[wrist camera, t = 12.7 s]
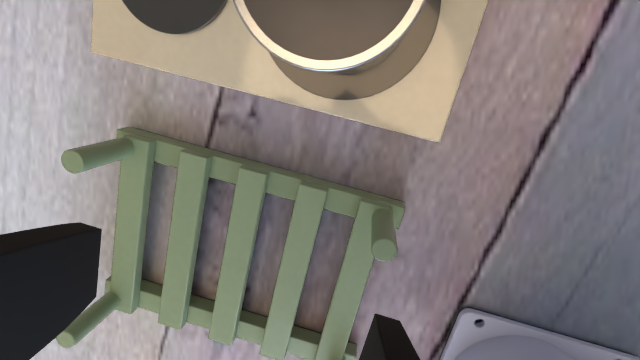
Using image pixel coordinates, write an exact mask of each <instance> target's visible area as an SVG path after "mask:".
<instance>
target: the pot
mask: <svg viewBox="0 0 640 360" xmlns="http://www.w3.org/2000/svg"><path fill="white" fill-rule="evenodd" d="M426 1H427V0H233V2H234V5H235V7H236V10H237V12H238V14H239V16H240V18H241V20H242V22H243V23H244V25H245V26H246V28H247V29H248V31H249V32H250V33H251V35H252V36H253V37H254V38H255V39H256V40H257V41H258V43H259V44H260V45H261V46H263V47H264V48H265V49H266V50H267V51H268V52H269V53H271V54H272V55H274V56H275V57H277V58H278V59H280V60H282V61H284V62H286V63H288V64H290V65H292V66H295V67H298V68H302V69H305V70H311V71H316V72H323V73H330V74H337V75H349V74H356V73H360V72H363V71H366V70H369V69H371V68H373V67H375V66H377V65H378V64H380V63H381V62H382V61H384V60H385V59H386V58H387V57H388V56H389V55H391V54H392V52H393V51H394V50H395V49H396V48H397V47H398V45H399V44H400V42H401V41H402V39H403V38H404V37H405V35H406V34H407V32H408V31H409V30H410V28H411V27H412V25H413V24H414V22H415V21H416V19H417V18H418V16H419V15H420V13H421V11H422V9H423V7H424V5H425V3H426Z"/></svg>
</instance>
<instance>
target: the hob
mask: <svg viewBox="0 0 640 360" xmlns="http://www.w3.org/2000/svg"><path fill="white" fill-rule="evenodd" d="M488 1H489V0H427V1H426V3H425V5H424V7H423V9H422V11H421V13H420V15H419V16H418V18H417V19H416V21H415V22H414V24H413V25H412V27H411V28H410V30H409V31H408V32H407V34H406V35H405V37H404V38H403V39H402V41H401V42H400V44H399V45H398V47H397V48H396V49H395V50H394V51H393V52H392V54H391V55H389V56H388V57H387V58H386V59H385V60H384V61H382V62H381V63H380V64H378V65H377V66H375V67H373V68H371V69H369V70H366V71H363V72H360V73H356V74H349V75H337V74H330V73H323V72H316V71H311V70H305V69H302V68H298V67H295V66H292V65H290V64H288V63H286V62H284V61H282V60H280V59H278V58H277V57H275V56H274V55H272V54H271V53H269V52H268V51H267V50H266V49H265V48H264V47H263V46H261V45H260V44H259V43H258V41H257V40H256V39H255V38H254V37H253V36H252V35H251V33H250V32H249V31H248V29H247V28H246V26H245V25H244V23H243V22H242V20H241V18H240V16H239V14H238V12H237V10H236V7H235V5H234V2H233V0H93V20H92V39H91V52H92V53H95V54H99V55H103V56H107V57H111V58H114V59H118V60H122V61H126V62H130V63H134V64H137V65H141V66H145V67H149V68H153V69H157V70H160V71H164V72H168V73H172V74H176V75H180V76H184V77H187V78H191V79H195V80H199V81H203V82H207V83H210V84H214V85H218V86H222V87H226V88H230V89H234V90H237V91H241V92H245V93H249V94H253V95H257V96H260V97H264V98H268V99H272V100H276V101H280V102H283V103H287V104H291V105H295V106H299V107H303V108H307V109H310V110H314V111H318V112H322V113H326V114H330V115H333V116H337V117H341V118H345V119H349V120H353V121H357V122H360V123H364V124H368V125H372V126H376V127H380V128H383V129H387V130H391V131H395V132H399V133H403V134H406V135H410V136H414V137H418V138H422V139H426V140H430V141H433V142H437V143H439V142H440V141H441V139H442V136H443V133H444V130H445V127H446V124H447V121H448V118H449V115H450V112H451V109H452V106H453V104H454V101H455V98H456V95H457V92H458V89H459V86H460V83H461V80H462V77H463V74H464V71H465V68H466V65H467V63H468V60H469V57H470V54H471V51H472V48H473V45H474V42H475V39H476V36H477V33H478V30H479V27H480V25H481V22H482V19H483V16H484V13H485V10H486V7H487V4H488Z"/></svg>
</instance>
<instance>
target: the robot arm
mask: <svg viewBox="0 0 640 360" xmlns="http://www.w3.org/2000/svg"><path fill="white" fill-rule="evenodd" d="M101 231H102V229H99V228H96V227H93V226H90V225H86V224H83V223H69V224H61V225H54V226H48V227H42V228H36V229H30V230H25V231H19V232H14V233H8V234H2V235H0V360H29V359H31V358H32V357H33V356H34V355H35V354H37V353H38V352H39V351H40V350H41V349H43V348H44V347H45V346H46V345H47V344H49V343H50V342H51V341H52V340H53V339H55V338H56V337H57V336H58V335H59V334H60V333H62V332H63V331H64V330H65V329H66V328H67V327H68V326H69V325H70V324H71V323H72V322H73V321H74V320H75V319H76V318H77V317H78V316H79V315H80V314H81V313H82V311H83V310H84V309H85V308H86V307H87V306H88V305H89V304H90V303H91V302H92V301H93V299H94V298H95V297H96V292H97V280H98V268H99V255H100V243H101ZM477 319H482V321H481V322H479V323H475V321H476V320H477ZM616 359H618V360H640V358H639V357H637V356H633V355H630V354H626V353H623V352H620V351H616V350H613V349H609V348H606V347H602V346H599V345H595V344H592V343H589V342H585V341H582V340H578V339H575V338H571V337H568V336H564V335H561V334H558V333H554V332H551V331H547V330H544V329H540V328H537V327H533V326H530V325H527V324H523V323H520V322H516V321H513V320H509V319H506V318H502V317H499V316H496V315H492V314H489V313H485V312H482V311H478V310H475V309H471V308H466V309H463V310H462V311H461V312H460V313H459V315H458V317H457V320H456V322H455V324H454V327H453V329H452V332H451V334H450V337H449V339H448V341H447V344H446V346H445V349H444V351H443V353H442V356H441V358H440V360H616ZM359 360H420V358H419V357H418V355H417V353H416V351H415V349H414V347H413V345H412V343H411V341H410V339H409V337H408V336H407V334H406V332H405V330H404V328H403V326H402V324H401V322H400V321H398V320H395V319H392V318H388V317H385V316H382V315H379V314H375V315H374V318H373V321H372V324H371V327H370V330H369V333H368V335H367V338H366V341H365V344H364V347H363V350H362V353H361V356H360V358H359Z"/></svg>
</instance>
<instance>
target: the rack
mask: <svg viewBox="0 0 640 360" xmlns="http://www.w3.org/2000/svg"><path fill="white" fill-rule="evenodd" d="M118 160H121V163H120V175H119V188H118V200H117V212H116V225H115V237H114V249H113V261H112V274H111V276H110V277H109V278H108V279H106V281H105V294H104V296H102V297H101V298H100V299H99V300H97V301H96V302H95V303H94V304H92V305H91V306H90V307H89V308H87V309H86V310H85V311H84V312H82V313H81V314H80V315H79V316H78V317H77V318H76V319H75V320H74V321H73V322H72V323H71V324H70V325H69V326H68V327H67V328H66V329H65V330H64V331H63V332H62V333H60V334H59V335H58V336H57V337H56V340H57V342H58V343H59V344H60V345H61V346H62V347H65V348H71V347H73V346H74V345H76V344H77V343H78V342H79V341H80V340H81V339H82V338H83V337H85V336H86V335H87V334H88V333H89V332H90V331H91V330H92V329H94V328H95V327H96V326H97V325H98V324H99V323H100V322H102V321H103V320H104V319H105V318H106V317H107V316H108V315H109V314H111V313H112V312H113V311H114V310H118V311H121V312H125V313H128V314H132V313H133V312H134V311H135V310H136V309H137V308H138V307H139V308H142V309H146V310H149V311H152V312H155V313H159V318H158V323H159V324H163V325H166V326H169V327H172V328H175V329H179V330H181V329H182V327H183V326H184V325H185V324H186V322H188V323H191V324H194V325H197V326H201V327H204V328H207V329H210V331H209V336H208V338H209V339H211V340H214V341H217V342H221V343H224V344H227V345H232V344H233V342H234V340H235V338H239V339H242V340H246V341H249V342H252V343H255V344H259V345H261V349H260V355H262V356H265V357H269V358H272V359H275V360H284V358H285V355H286V353H288V354H291V355H294V356H297V357H301V358H304V359H307V360H356V355H357V345H356V344H353V343H350V342H348V339H349V336H350V333H351V330H352V327H353V324H354V321H355V317H356V314H357V311H358V308H359V305H360V302H361V299H362V295H363V292H364V289H365V286H366V283H367V280H368V276H369V273H370V270H371V267H372V264H373V261H374V258H376V259H377V260H379V261H383V262H386V261H390V260H392V259H393V258H394V257H395V256H396V254H397V251H398V249H397V242H396V234H395V229H399V227H400V224H401V221H402V218H403V215H404V212H405V205H404V202H402V201H399V200H395V199H391V198H388V197H384V196H380V195H377V194H373V193H369V192H366V191H362V190H358V189H355V188H351V187H347V186H344V185H340V184H336V183H333V182H329V181H325V180H322V179H318V178H315V177H311V176H307V175H304V174H300V173H296V172H293V171H289V170H285V169H282V168H278V167H274V166H271V165H267V164H263V163H260V162H256V161H252V160H249V159H245V158H241V157H238V156H234V155H230V154H227V153H223V152H219V151H216V150H212V149H208V148H205V147H201V146H197V145H194V144H190V143H187V142H183V141H179V140H176V139H172V138H168V137H165V136H161V135H157V134H154V133H150V132H146V131H143V130H139V129H135V128H132V127H126V128H121V129H117V138H116V139H113V140H109V141H104V142H100V143H96V144H91V145H87V146H82V147H78V148H74V149H69V150H66V151H65V152H64V153H63V154H62V157H61V161H62V164H63V166H64V168H65V169H66V170H67V171H69V172H71V173H80V172H83V171H86V170H90V169H93V168H96V167H99V166H102V165H105V164H109V163H112V162H115V161H118ZM154 162H157V163H161V164H164V165H168V166H171V167H175V168H178V171H177V179H176V187H175V195H174V202H173V210H172V218H171V225H170V233H169V241H168V249H167V256H166V264H165V272H164V279H163V286H162V285H159V284H156V283H152V282H149V281H146V280H142V279H141V274H142V265H143V255H144V246H145V237H146V228H147V219H148V209H149V200H150V191H151V182H152V173H153V163H154ZM209 177H211V178H214V179H218V180H222V181H225V182H229V183H232V184H236V187H235V192H234V198H233V203H232V209H231V214H230V220H229V225H228V231H227V237H226V242H225V248H224V253H223V259H222V264H221V270H220V275H219V281H218V286H217V292H216V297H215V301H211V300H208V299H205V298H202V297H198V296H195V295H192V294H191V289H192V282H193V276H194V270H195V263H196V257H197V251H198V244H199V238H200V231H201V225H202V219H203V212H204V206H205V200H206V193H207V187H208V180H209ZM265 193H268V194H272V195H275V196H279V197H282V198H286V199H290V200H293V201H295V203H294V208H293V212H292V216H291V221H290V225H289V229H288V233H287V238H286V242H285V246H284V250H283V255H282V259H281V263H280V267H279V272H278V276H277V280H276V285H275V289H274V293H273V297H272V302H271V306H270V310H269V314H268V318H267V317H264V316H261V315H258V314H254V313H251V312H248V311H244V310H241V309H242V304H243V300H244V295H245V290H246V285H247V280H248V275H249V271H250V266H251V261H252V256H253V251H254V246H255V242H256V237H257V232H258V227H259V222H260V218H261V213H262V208H263V203H264V198H265ZM324 209H325V210H329V211H333V212H336V213H340V214H343V215H347V216H351V217H354V218H355V220H354V223H353V227H352V230H351V234H350V237H349V240H348V244H347V247H346V251H345V254H344V258H343V261H342V265H341V268H340V272H339V275H338V278H337V282H336V285H335V289H334V292H333V296H332V299H331V303H330V306H329V309H328V313H327V316H326V320H325V323H324V327H323V330H322V334H320V333H317V332H313V331H310V330H307V329H304V328H300V327H297V326H294V321H295V317H296V313H297V309H298V305H299V302H300V298H301V294H302V290H303V286H304V282H305V279H306V275H307V271H308V267H309V263H310V259H311V256H312V252H313V248H314V244H315V240H316V236H317V233H318V229H319V225H320V221H321V217H322V213H323V210H324Z"/></svg>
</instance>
